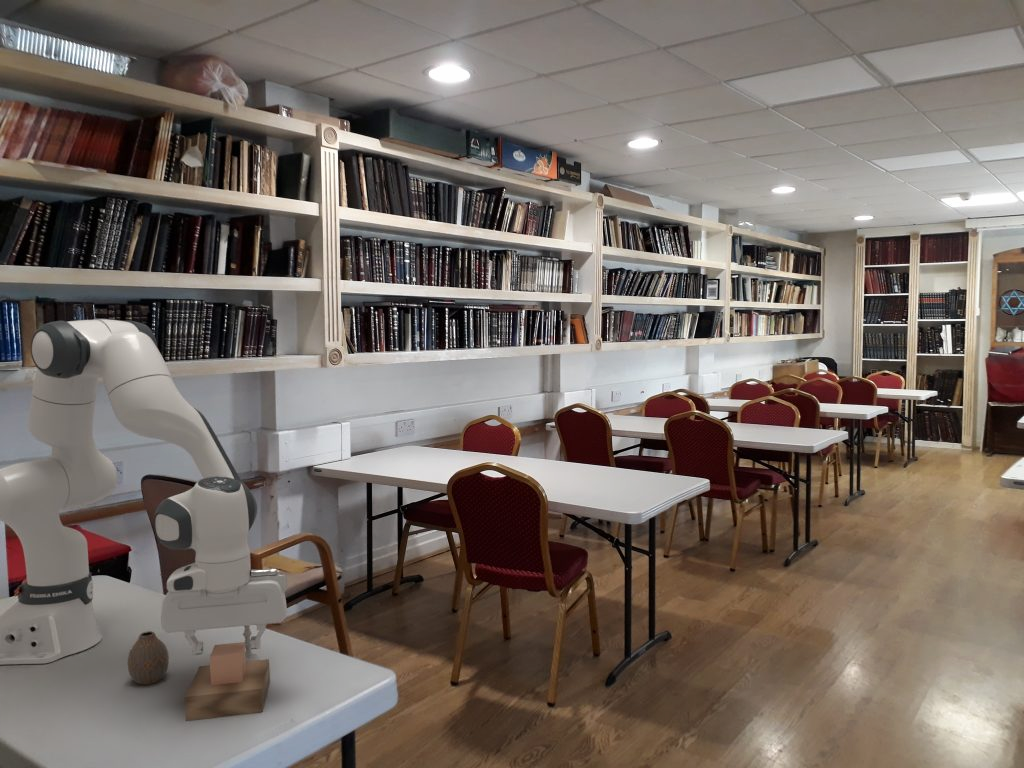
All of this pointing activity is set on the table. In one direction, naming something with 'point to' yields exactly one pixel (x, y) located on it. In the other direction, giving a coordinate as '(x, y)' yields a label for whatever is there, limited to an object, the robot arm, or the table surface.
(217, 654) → the block
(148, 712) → the table surface
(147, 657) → the vase
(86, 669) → the table surface
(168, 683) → the table surface
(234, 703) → the board
